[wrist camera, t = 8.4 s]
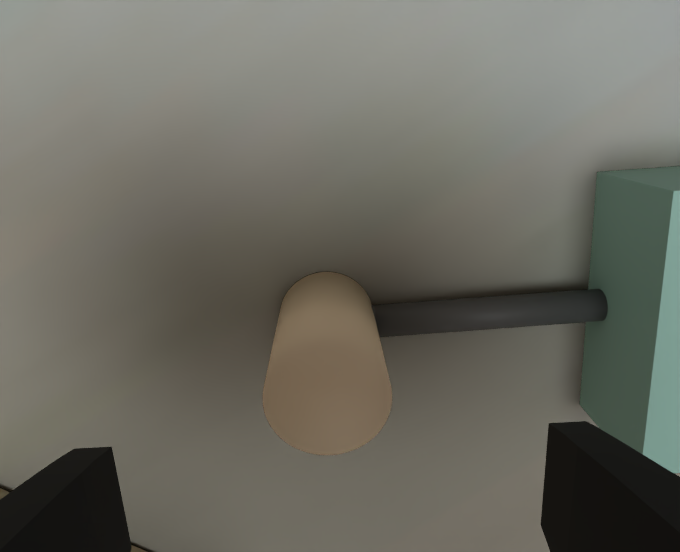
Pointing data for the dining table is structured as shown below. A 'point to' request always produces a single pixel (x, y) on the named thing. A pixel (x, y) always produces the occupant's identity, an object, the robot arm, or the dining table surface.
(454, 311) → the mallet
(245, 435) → the dining table surface
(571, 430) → the robot arm
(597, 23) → the dining table surface
